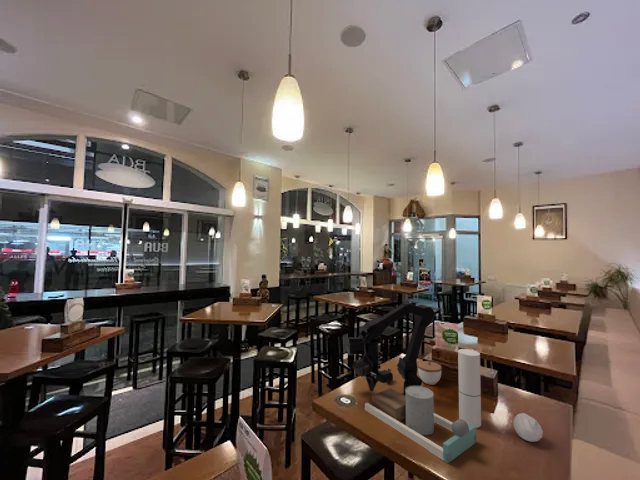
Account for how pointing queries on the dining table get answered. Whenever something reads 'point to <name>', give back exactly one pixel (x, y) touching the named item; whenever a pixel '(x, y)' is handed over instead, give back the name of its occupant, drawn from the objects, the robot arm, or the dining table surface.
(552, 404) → the dining table surface
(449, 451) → the bay
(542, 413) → the dining table surface
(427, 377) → the lidded jar
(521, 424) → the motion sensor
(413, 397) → the grey concrete cylinder
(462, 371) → the cylindrical container
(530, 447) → the dining table surface
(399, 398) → the carriage
